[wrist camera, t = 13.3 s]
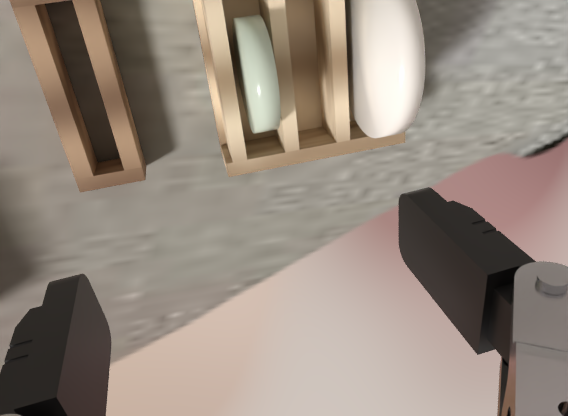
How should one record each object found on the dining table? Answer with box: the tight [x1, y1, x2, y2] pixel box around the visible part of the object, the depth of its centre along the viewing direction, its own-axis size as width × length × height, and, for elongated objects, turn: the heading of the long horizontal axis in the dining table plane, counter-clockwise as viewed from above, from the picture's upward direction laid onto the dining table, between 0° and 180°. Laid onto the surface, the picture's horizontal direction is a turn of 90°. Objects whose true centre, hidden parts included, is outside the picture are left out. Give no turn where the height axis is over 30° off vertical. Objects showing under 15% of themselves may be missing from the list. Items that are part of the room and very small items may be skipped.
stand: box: [10, 0, 146, 192], centre depth 31 cm, size 13×4×2 cm, turn 7°
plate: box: [345, 0, 425, 138], centre depth 29 cm, size 2×10×10 cm, turn 6°
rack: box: [193, 0, 405, 177], centre depth 32 cm, size 13×13×5 cm
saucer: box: [232, 15, 281, 133], centre depth 30 cm, size 2×7×7 cm, turn 6°
